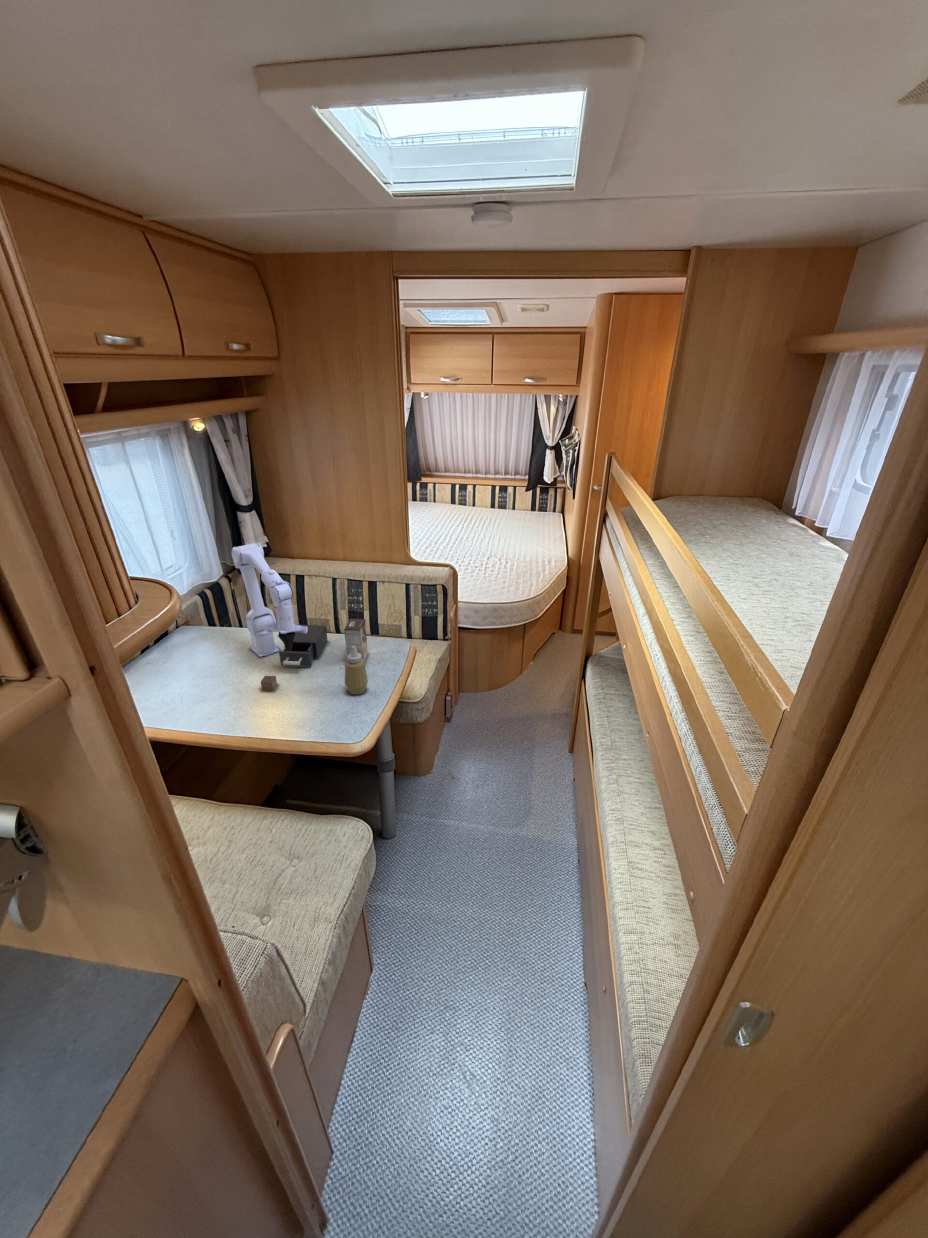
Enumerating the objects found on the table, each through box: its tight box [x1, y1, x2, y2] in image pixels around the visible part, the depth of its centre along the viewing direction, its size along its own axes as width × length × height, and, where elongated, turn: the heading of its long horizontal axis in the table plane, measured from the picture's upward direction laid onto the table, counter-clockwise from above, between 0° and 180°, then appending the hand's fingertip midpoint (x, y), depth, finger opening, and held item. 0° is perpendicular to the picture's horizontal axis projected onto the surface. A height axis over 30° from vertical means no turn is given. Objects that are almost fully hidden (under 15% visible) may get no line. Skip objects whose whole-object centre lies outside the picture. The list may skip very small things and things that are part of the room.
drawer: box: [278, 643, 315, 668], centre depth 191 cm, size 18×11×6 cm, turn 179°
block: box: [260, 675, 278, 692], centre depth 175 cm, size 4×4×4 cm
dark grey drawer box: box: [283, 624, 329, 660], centre depth 200 cm, size 15×13×8 cm
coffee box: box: [344, 618, 369, 663], centre depth 192 cm, size 9×6×16 cm
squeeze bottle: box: [344, 646, 369, 696], centre depth 173 cm, size 8×8×18 cm
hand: (289, 649), depth 182 cm, fingers closed
